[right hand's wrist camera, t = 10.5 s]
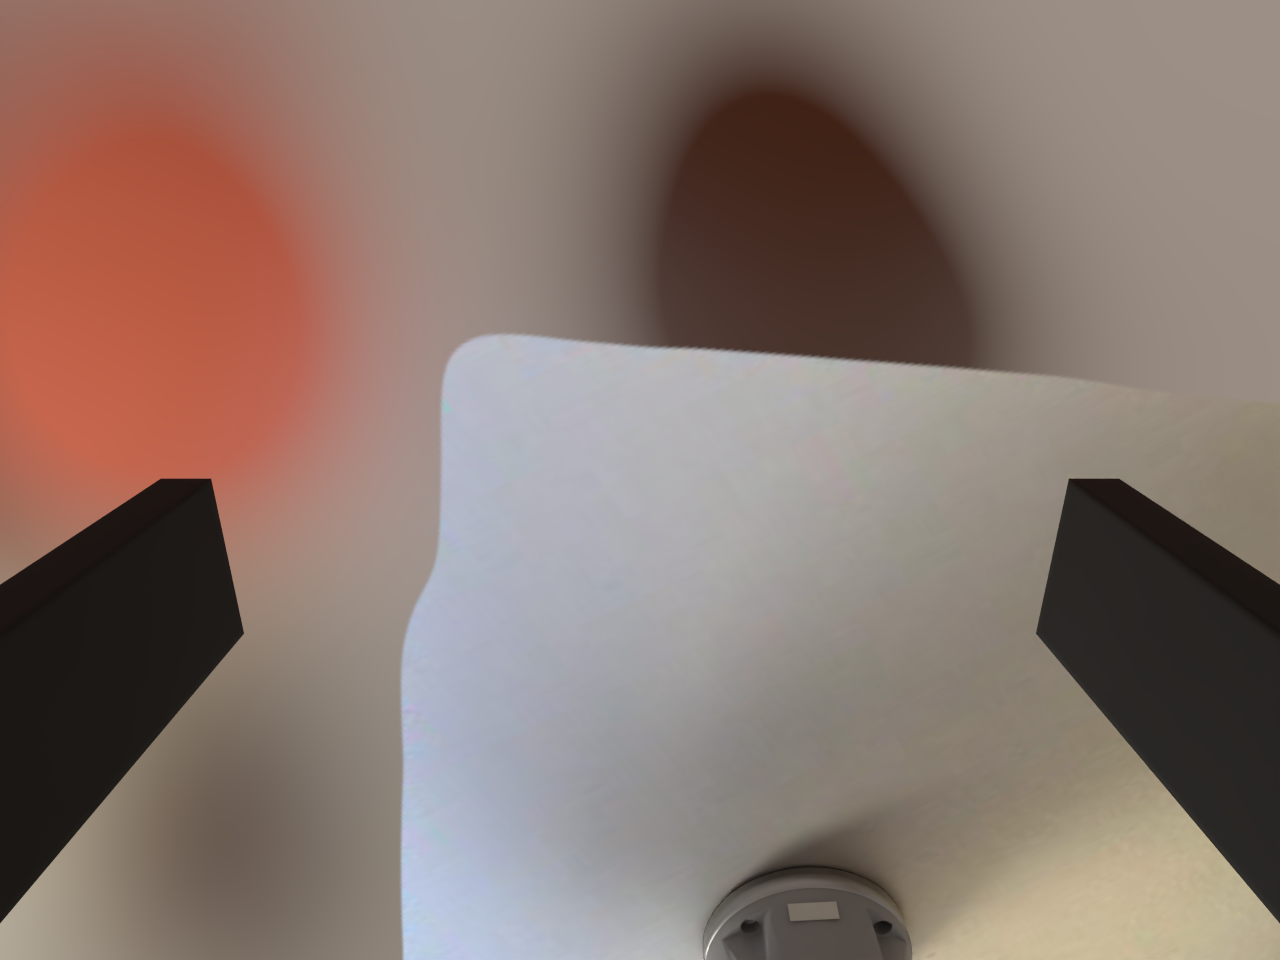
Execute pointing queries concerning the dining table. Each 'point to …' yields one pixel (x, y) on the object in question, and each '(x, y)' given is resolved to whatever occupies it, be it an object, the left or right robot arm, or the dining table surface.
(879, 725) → the dining table surface
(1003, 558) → the dining table surface
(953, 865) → the dining table surface
